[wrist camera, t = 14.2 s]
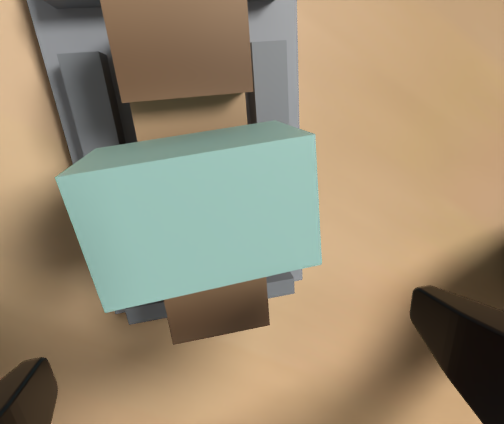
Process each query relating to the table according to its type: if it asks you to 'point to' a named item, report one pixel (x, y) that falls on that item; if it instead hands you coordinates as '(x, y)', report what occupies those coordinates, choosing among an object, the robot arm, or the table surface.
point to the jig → (119, 114)
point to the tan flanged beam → (189, 116)
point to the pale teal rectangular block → (195, 211)
